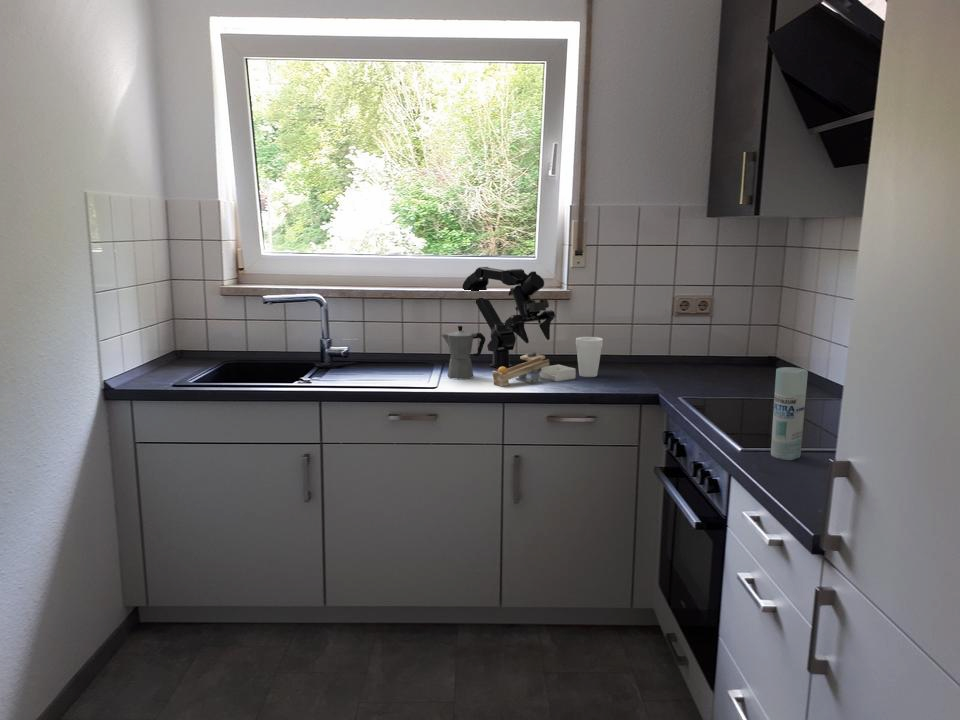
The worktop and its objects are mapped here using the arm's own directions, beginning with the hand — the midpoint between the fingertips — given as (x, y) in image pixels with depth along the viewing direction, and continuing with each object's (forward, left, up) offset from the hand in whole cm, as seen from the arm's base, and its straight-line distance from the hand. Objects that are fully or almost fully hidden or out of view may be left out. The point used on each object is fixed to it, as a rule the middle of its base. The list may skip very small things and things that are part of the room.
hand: (538, 341), depth 254 cm
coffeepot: (-13, -23, -12) cm, 29 cm away
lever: (+2, -9, -10) cm, 14 cm away
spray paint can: (+104, -9, -12) cm, 105 cm away
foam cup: (+9, +15, -12) cm, 22 cm away
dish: (+7, +3, -12) cm, 14 cm away
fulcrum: (+6, -9, -12) cm, 16 cm away
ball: (+6, -19, -8) cm, 22 cm away
